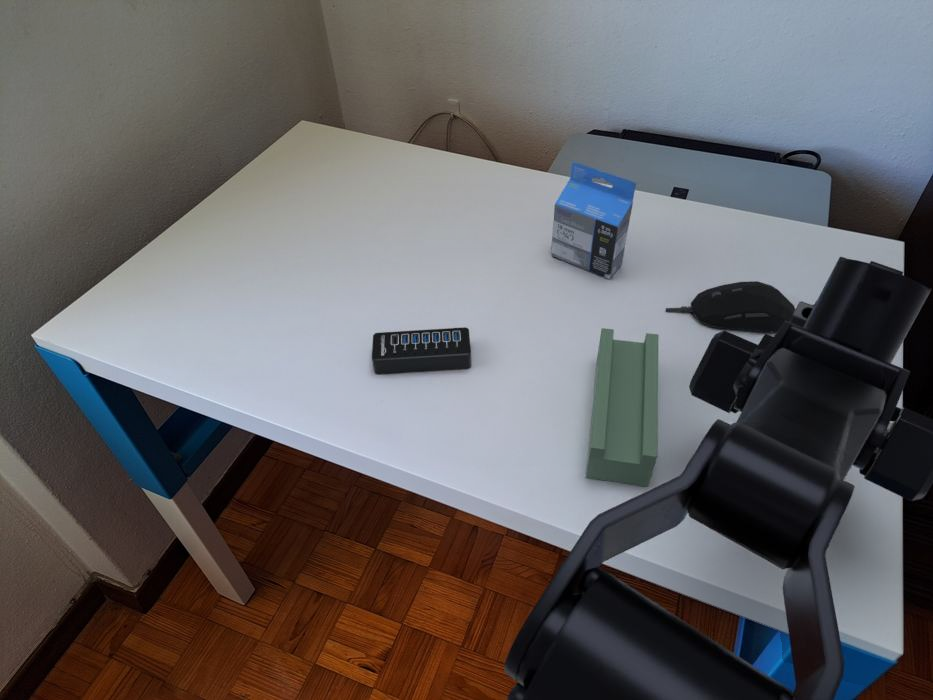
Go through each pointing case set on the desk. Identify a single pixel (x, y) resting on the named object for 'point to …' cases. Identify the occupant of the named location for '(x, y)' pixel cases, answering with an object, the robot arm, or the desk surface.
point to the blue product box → (592, 220)
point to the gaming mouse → (741, 307)
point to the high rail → (624, 411)
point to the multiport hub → (421, 350)
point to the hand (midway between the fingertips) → (812, 410)
